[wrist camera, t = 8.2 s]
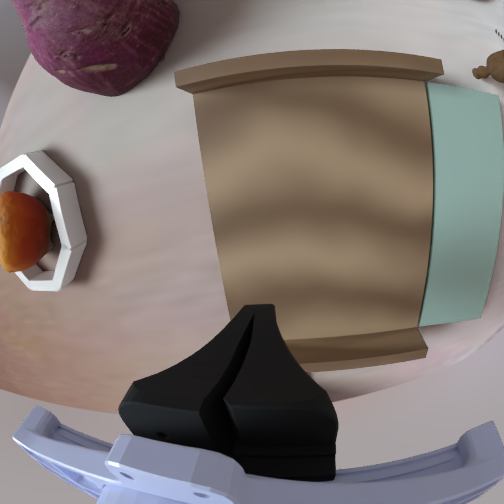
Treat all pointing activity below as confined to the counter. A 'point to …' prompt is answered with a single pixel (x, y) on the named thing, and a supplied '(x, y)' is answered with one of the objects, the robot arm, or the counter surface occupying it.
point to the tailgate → (463, 202)
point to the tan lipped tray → (322, 195)
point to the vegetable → (99, 40)
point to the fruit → (23, 231)
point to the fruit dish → (64, 214)
